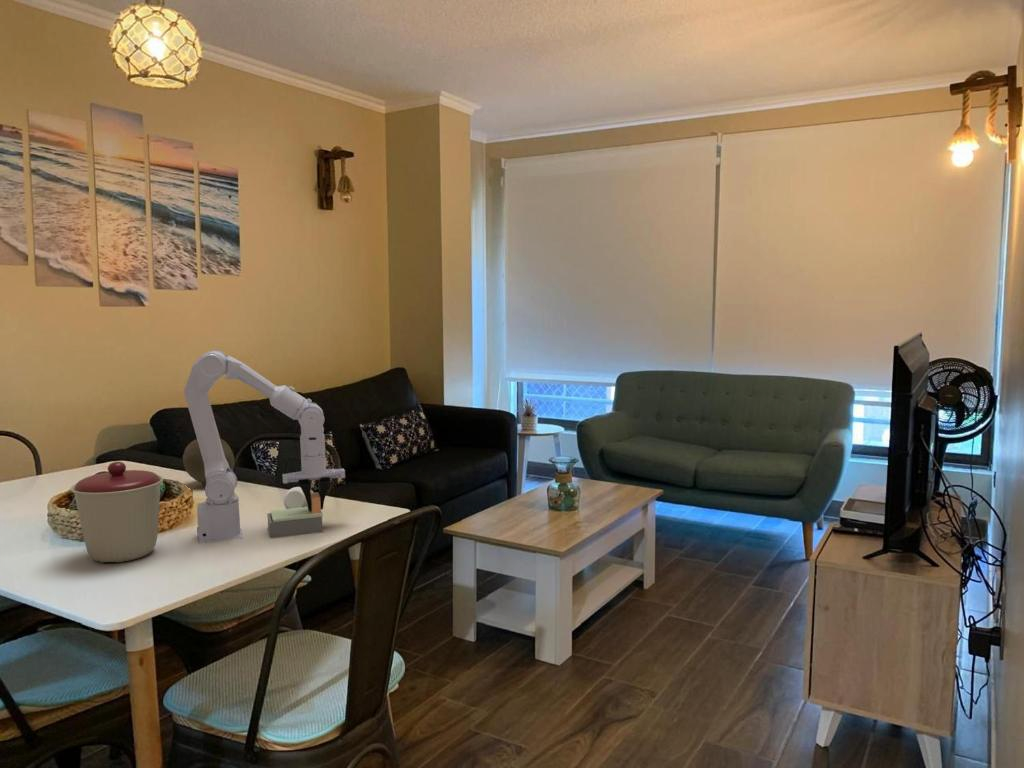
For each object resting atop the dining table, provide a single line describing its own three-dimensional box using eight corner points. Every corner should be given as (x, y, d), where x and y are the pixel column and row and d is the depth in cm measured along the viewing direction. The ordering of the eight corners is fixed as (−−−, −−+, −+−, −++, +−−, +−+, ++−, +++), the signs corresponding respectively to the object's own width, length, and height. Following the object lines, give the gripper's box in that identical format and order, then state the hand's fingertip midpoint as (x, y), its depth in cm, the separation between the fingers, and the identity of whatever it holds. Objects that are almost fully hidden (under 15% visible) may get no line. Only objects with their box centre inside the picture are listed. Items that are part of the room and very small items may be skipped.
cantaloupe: (225, 477, 243) (222, 431, 241) (242, 485, 232) (239, 436, 231) (179, 485, 234) (176, 436, 232) (193, 493, 223) (190, 443, 222)
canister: (83, 548, 175) (76, 457, 172) (170, 538, 181) (164, 451, 179) (69, 574, 158) (61, 474, 156) (165, 563, 164) (158, 466, 162)
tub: (270, 540, 179) (269, 523, 178) (268, 529, 187) (267, 513, 187) (322, 533, 183) (322, 517, 183) (318, 523, 191) (317, 508, 191)
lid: (272, 522, 179) (271, 503, 178) (270, 513, 187) (269, 495, 186) (322, 516, 183) (321, 498, 182) (318, 507, 191) (317, 490, 190)
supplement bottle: (318, 510, 202) (309, 511, 189) (292, 514, 201) (282, 516, 188) (314, 485, 203) (306, 484, 190) (289, 489, 202) (279, 489, 189)
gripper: (341, 448, 191) (343, 501, 193) (280, 453, 186) (283, 508, 188) (345, 453, 184) (347, 509, 186) (282, 459, 179) (285, 515, 181)
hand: (315, 509), depth 186 cm, fingers closed on lid, 2 cm apart
